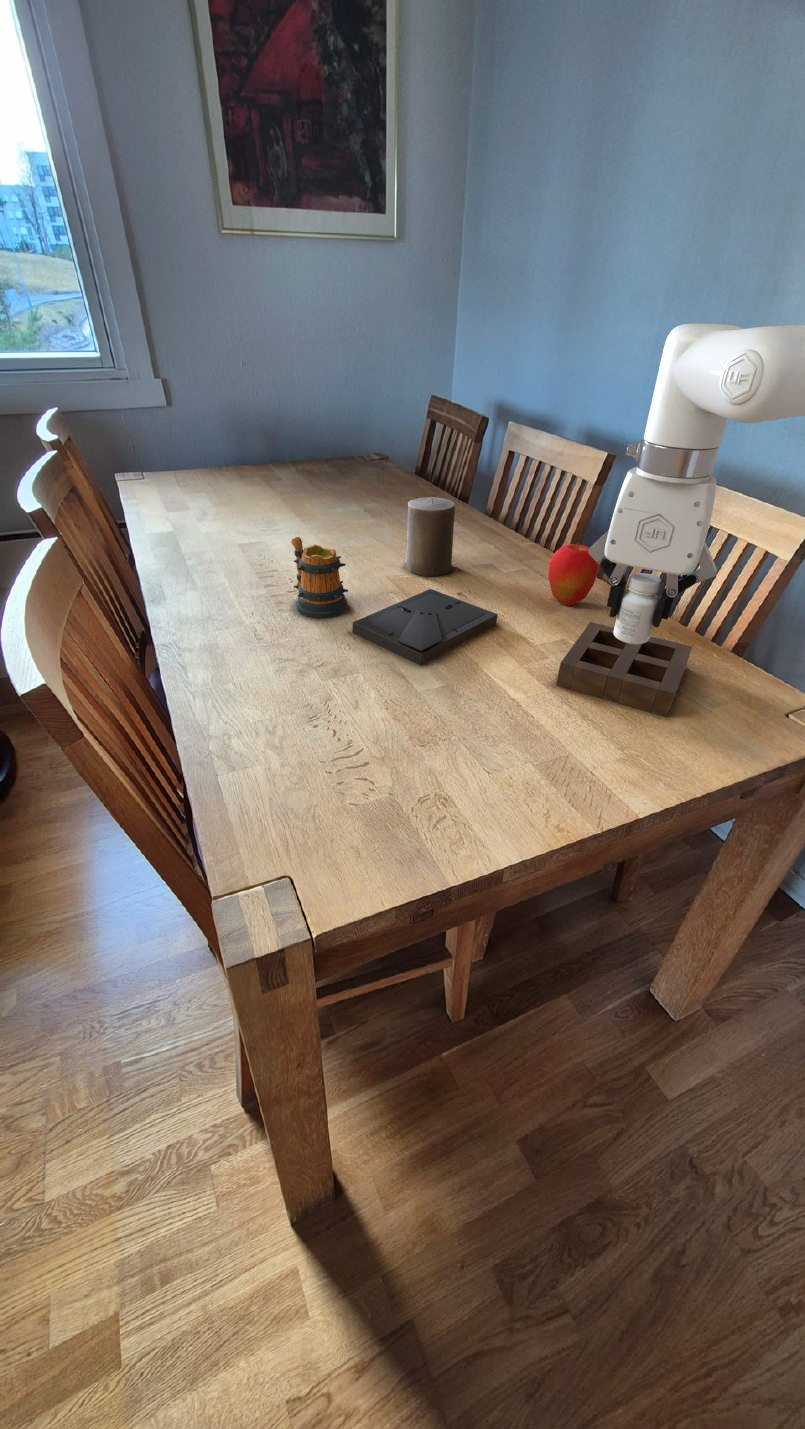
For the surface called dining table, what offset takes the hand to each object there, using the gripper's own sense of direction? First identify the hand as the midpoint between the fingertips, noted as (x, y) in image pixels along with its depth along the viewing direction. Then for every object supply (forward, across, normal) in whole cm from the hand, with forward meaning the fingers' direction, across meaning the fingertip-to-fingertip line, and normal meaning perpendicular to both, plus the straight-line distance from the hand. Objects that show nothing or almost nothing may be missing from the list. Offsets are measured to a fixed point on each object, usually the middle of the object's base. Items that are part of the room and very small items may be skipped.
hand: (636, 616), depth 76 cm
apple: (+17, -17, +40) cm, 46 cm away
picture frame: (+17, -35, +15) cm, 42 cm away
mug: (+17, -57, +13) cm, 61 cm away
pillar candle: (+17, -48, +41) cm, 65 cm away
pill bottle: (+3, 0, 0) cm, 3 cm away
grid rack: (+17, -1, +16) cm, 24 cm away
